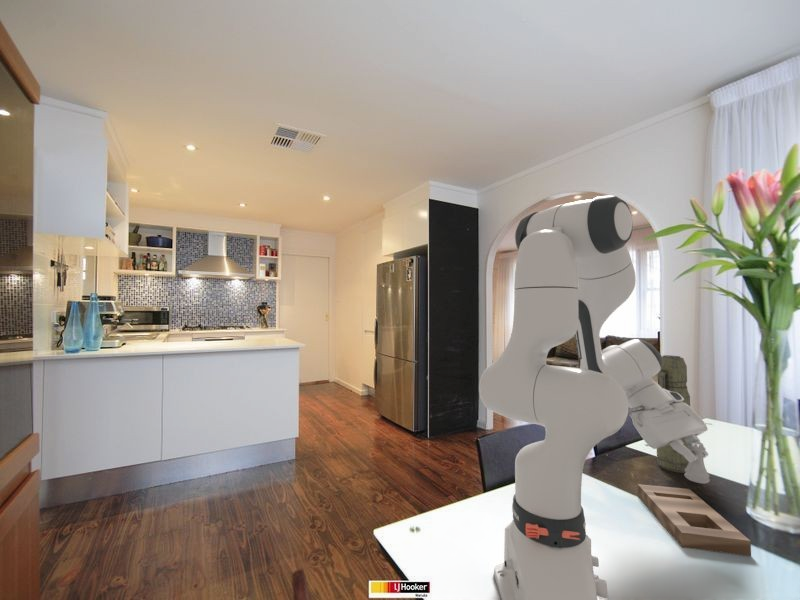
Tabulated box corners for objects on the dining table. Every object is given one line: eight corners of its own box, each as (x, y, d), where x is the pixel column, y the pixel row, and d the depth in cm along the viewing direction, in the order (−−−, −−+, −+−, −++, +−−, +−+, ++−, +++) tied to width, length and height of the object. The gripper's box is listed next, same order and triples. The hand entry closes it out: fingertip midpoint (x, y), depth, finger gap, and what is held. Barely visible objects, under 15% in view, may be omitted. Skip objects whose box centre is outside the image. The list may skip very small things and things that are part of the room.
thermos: (699, 468, 114) (696, 356, 115) (682, 476, 108) (679, 358, 109) (667, 458, 121) (664, 353, 123) (649, 465, 115) (647, 355, 117)
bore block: (751, 556, 72) (750, 540, 72) (682, 547, 75) (681, 532, 75) (689, 500, 94) (689, 489, 94) (637, 495, 96) (637, 484, 97)
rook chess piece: (715, 485, 77) (714, 447, 78) (691, 483, 78) (690, 445, 79) (701, 475, 82) (700, 440, 82) (679, 474, 83) (678, 438, 83)
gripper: (635, 401, 82) (686, 461, 73) (683, 392, 91) (733, 444, 82) (616, 416, 86) (662, 474, 77) (664, 406, 95) (710, 457, 86)
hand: (699, 459), depth 80 cm, fingers closed on rook chess piece, 3 cm apart
